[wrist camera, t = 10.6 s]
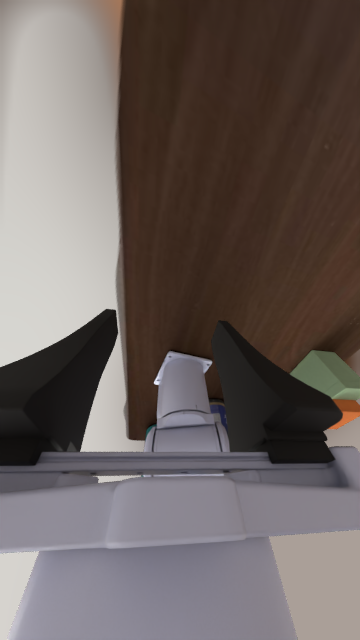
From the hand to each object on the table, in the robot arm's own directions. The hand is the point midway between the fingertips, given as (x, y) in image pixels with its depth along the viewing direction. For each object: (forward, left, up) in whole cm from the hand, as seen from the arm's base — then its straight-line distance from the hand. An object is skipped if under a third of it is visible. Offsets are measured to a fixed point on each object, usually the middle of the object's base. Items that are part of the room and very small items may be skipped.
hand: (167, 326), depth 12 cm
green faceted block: (-10, -30, -9) cm, 33 cm away
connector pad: (-10, -30, -3) cm, 32 cm away
